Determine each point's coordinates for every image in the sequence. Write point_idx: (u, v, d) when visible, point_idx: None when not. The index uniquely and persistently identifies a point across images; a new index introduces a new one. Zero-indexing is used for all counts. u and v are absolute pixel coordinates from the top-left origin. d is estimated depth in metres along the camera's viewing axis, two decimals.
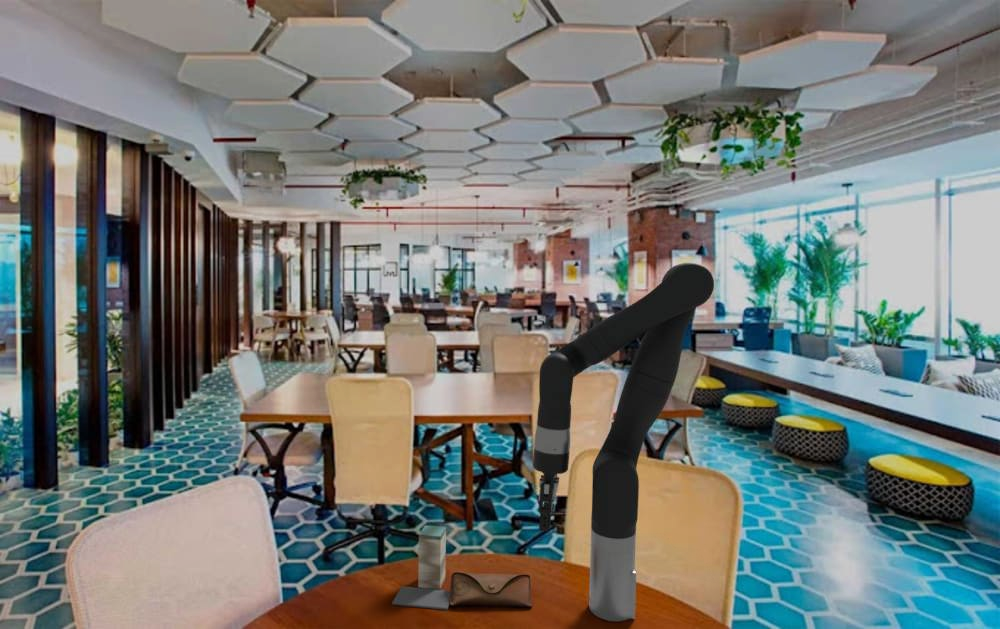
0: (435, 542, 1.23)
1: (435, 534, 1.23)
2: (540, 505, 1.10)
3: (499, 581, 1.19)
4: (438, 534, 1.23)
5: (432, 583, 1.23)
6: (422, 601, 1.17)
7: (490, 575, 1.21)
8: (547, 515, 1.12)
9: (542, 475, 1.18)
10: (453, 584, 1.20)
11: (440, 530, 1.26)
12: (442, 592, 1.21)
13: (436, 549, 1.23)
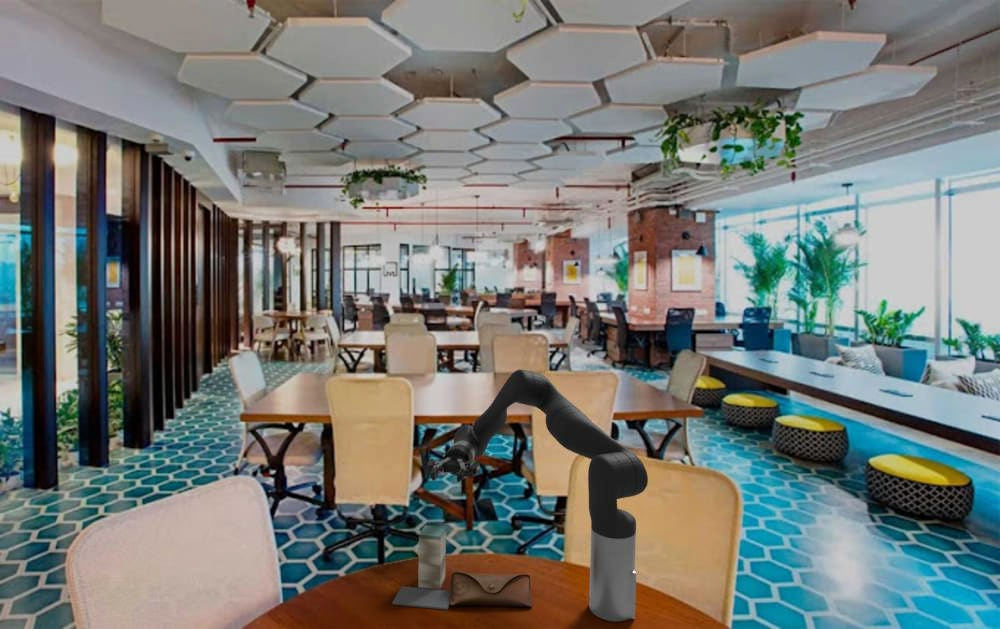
0: (435, 542, 1.23)
1: (435, 534, 1.23)
2: None
3: (499, 581, 1.19)
4: (438, 534, 1.23)
5: (432, 583, 1.23)
6: (422, 601, 1.17)
7: (490, 575, 1.21)
8: (432, 469, 1.41)
9: None
10: (453, 584, 1.20)
11: (440, 530, 1.26)
12: (442, 592, 1.21)
13: (436, 549, 1.23)
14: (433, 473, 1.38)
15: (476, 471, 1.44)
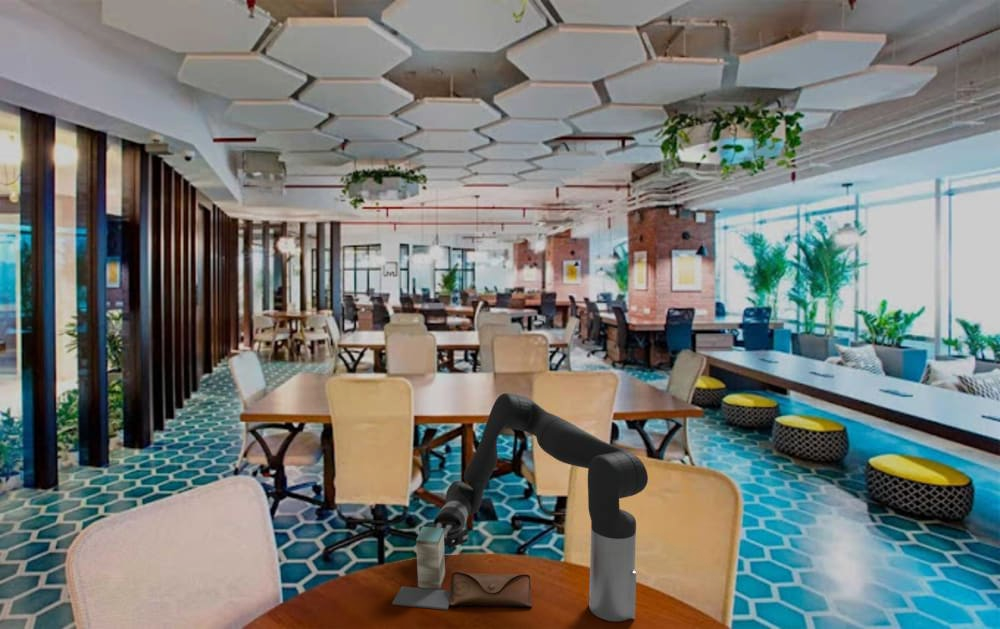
0: (433, 547, 1.21)
1: (432, 539, 1.21)
2: None
3: (499, 581, 1.19)
4: (435, 539, 1.21)
5: (432, 583, 1.23)
6: (422, 601, 1.17)
7: (490, 575, 1.21)
8: None
9: None
10: (453, 584, 1.20)
11: (438, 532, 1.24)
12: (442, 592, 1.21)
13: (434, 553, 1.21)
14: None
15: (460, 541, 1.33)
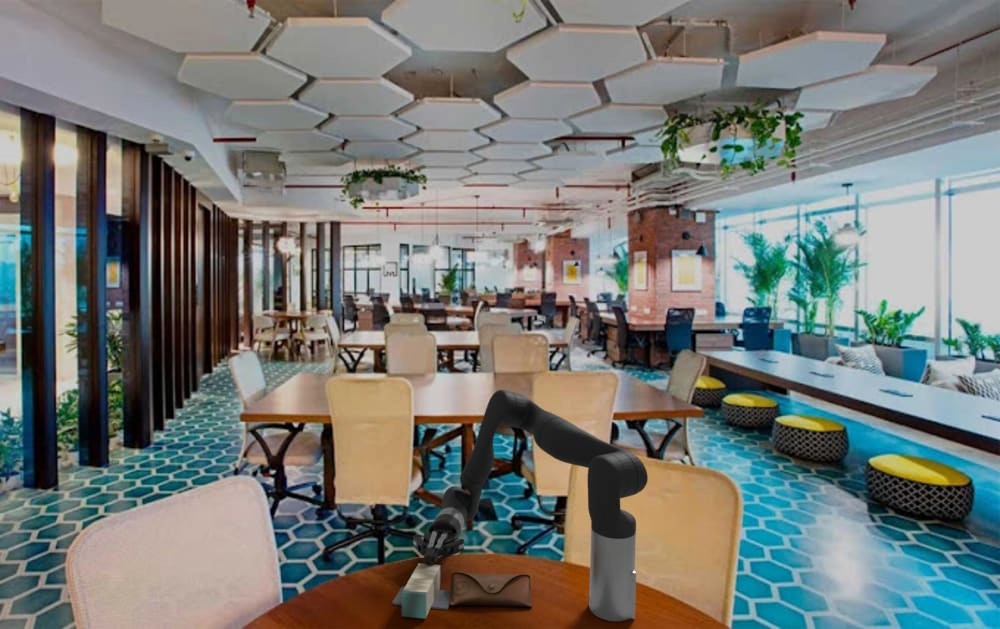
0: None
1: (419, 615, 1.11)
2: (419, 552, 1.29)
3: (499, 581, 1.19)
4: (422, 614, 1.11)
5: None
6: None
7: (490, 575, 1.21)
8: (426, 550, 1.26)
9: None
10: (453, 584, 1.20)
11: (421, 602, 1.11)
12: (442, 592, 1.21)
13: None
14: (427, 557, 1.23)
15: (455, 550, 1.29)
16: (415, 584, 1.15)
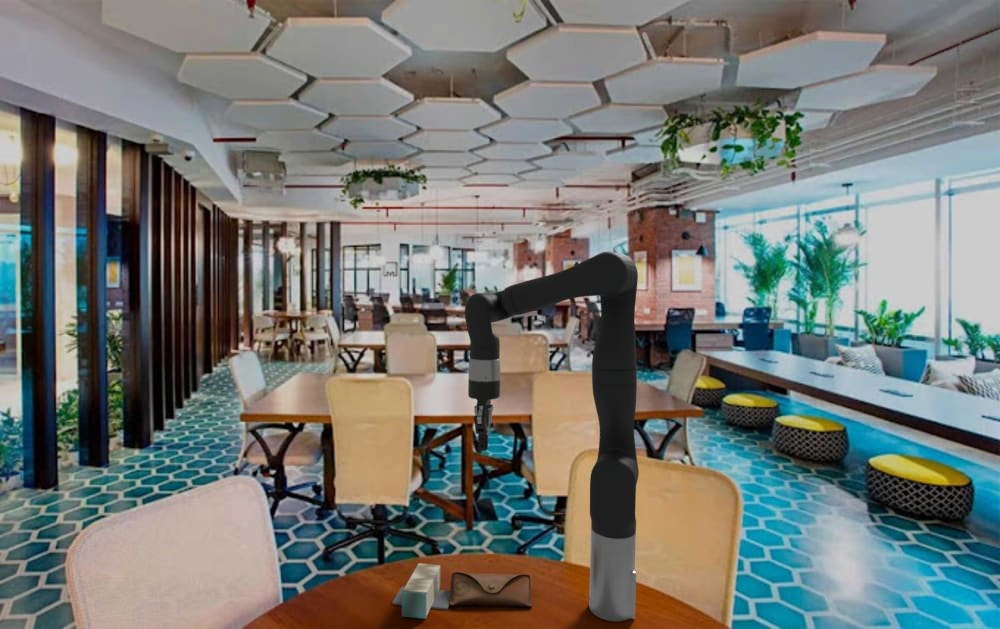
0: None
1: (419, 615, 1.11)
2: (476, 430, 1.27)
3: (499, 581, 1.19)
4: (422, 614, 1.11)
5: None
6: None
7: (490, 575, 1.21)
8: (484, 436, 1.29)
9: None
10: (453, 584, 1.20)
11: (421, 602, 1.11)
12: (442, 592, 1.21)
13: None
14: None
15: None
16: (415, 584, 1.15)
